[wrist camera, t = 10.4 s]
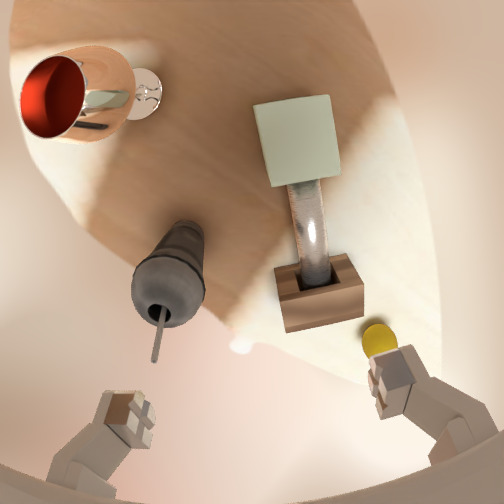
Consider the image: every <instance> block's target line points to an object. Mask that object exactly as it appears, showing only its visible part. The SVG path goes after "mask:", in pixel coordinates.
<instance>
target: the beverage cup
mask: <svg viewBox="0 0 504 504" xmlns="http://www.w3.org/2000/svg"><path fill="white" fill-rule="evenodd" d="M203 256H204V234H203V231H202V229H201V228H200V227H199V226H198V225H197V224H196V223H194V222H192V221H187V220H186V221H180V222H178V223H176V224H175V225H174V226H173V227H172V228H171V229H170V230H169V231H168V232H167V233H166V235H165V236H164V237H163V239H162V240H161V241H160V242H159V244H158V245H157V246H156V248H155V249H154V250H153V252H152V253H151V254H150V255H149V256H148V257H147V258H146V259H144V260H143V261H142V262H141V263H140V264H139V265H138V266H137V267H136V269H135V272H134V274H133V280H132V284H131V296H132V300H133V303H134V306H135V308H136V310H137V312H138V313H139V314H140V315H141V317H142V318H143V319H145V320H146V321H147V322H148V323H150V324H152V325H155V326H157V332H156V337H155V342H154V347H153V352H152V357H151V362H152V363H157V360H158V354H159V349H160V343H161V338H162V333H163V328H173V327H177V326H180V325H182V324H184V323H186V322H187V321H188V320H190V319H191V318H192V317H193V316H194V315H195V314H196V312H197V310H198V309H199V307H200V305H201V303H202V302H203V300H204V296H205V290H206V289H205V285H204V280H203V274H202V273H203Z"/></svg>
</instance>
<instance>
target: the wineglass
mask: <svg viewBox="0 0 504 504" xmlns="http://www.w3.org/2000/svg"><path fill="white" fill-rule="evenodd" d="M161 98H162V85H161V82H160V80H159V78H158V77H157V75H156V74H155V73H153V72H152V71H150V70H148V69H144V68H135V69H132V68H131V66H130V64H129V63H128V61H127V60H126V59H125V58H124V57H123V56H122V55H121V54H120V53H118V52H117V51H115V50H113V49H110V48H107V47H103V46H86V47H80V48H75V49H71V50H68V51H64V52H61V53H58V54H55V55H52V56H49V57H47V58H45V59H43V60H41V61H40V62H39V63H38V64H36V65H35V66H34V67H33V69H32V70H31V71H30V72H29V74H28V75H27V77H26V79H25V81H24V83H23V86H22V89H21V93H20V102H19V106H20V114H21V118H22V121H23V123H24V125H25V126H26V128H27V129H28V130H29V132H30V133H32V134H33V135H34V136H36V137H38V138H41V139H46V140H52V141H57V142H63V143H70V144H88V143H93V142H97V141H99V140H102V139H104V138H106V137H108V136H109V135H111V134H112V133H113V132H115V131H116V130H117V129H118V128H119V127H120V126H121V125H122V124H123V123H124V121H125V120H126V119H129V120H139V119H143V118H145V117H147V116H149V115H150V114H152V113H153V112H154V111H155V110H156V108H157V107H158V105H159V103H160V101H161Z"/></svg>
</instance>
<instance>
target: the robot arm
mask: <svg viewBox="0 0 504 504" xmlns="http://www.w3.org/2000/svg"><path fill="white" fill-rule="evenodd" d="M369 364H370V367H371V369H370V370H369V371H368V382H369V387H370V391H371V394H372V396H374V397H375V398H377V399H376V408H377V411H378V414H379V417H380V420H383V419H386V418H390V417H394V416H397V415H400V414H403V415H404V416H405V417H407V418H408V419H409V420H411V421H412V422H413V423H414V424H416V425H417V426H418V427H420V428H421V429H422V430H423V431H425V432H426V433H427V434H429V435H430V436H431V437H432V438H434V439H435V440H436V441H437V442H436V444H435V445H434V447H433V448H432V450H431V452H430V453H429V455H428V457H429V460H430V463H431V466H430V467H428V468H425V469H423V470H420V471H417V472H415V473H412V474H410V475H407V476H404V477H401V478H398V479H395V480H392V481H389V482H386V483H383V484H379V485H376V486H373V487H369V488H365V489H361V490H357V491H354V492H350V493H345V494H341V495H336V496H332V497H327V498H321V499H316V500H310V501H304V502H297V503H290V504H504V430H502V431H500V432H499V431H498V429H497V427H496V425H495V423H494V421H493V419H492V418H491V416H490V414H489V412H488V410H487V408H486V406H485V404H483V403H482V402H480V401H478V400H476V399H474V398H472V397H471V396H469V395H467V394H465V393H463V392H461V391H459V390H457V389H456V388H454V387H452V386H450V385H448V384H447V383H445V382H443V381H441V380H439V379H438V378H436V377H431V378H430V376H429V374H428V372H427V370H426V368H425V367H424V365H423V363H422V361H421V359H420V357H419V356H418V354H417V352H416V350H415V348H414V347H413V346H412V345H411V344H410V345H406V346H403V347H400V348H395V349H392V350H389V351H386V352H382V353H379V354H375V355H372V356H370V358H369ZM144 398H145V395H144V394H143V393H142V392H141V391H113V390H112V391H111V390H108V391H107V390H106V391H105V392H104V393H103V394H102V397H101V399H100V402H99V405H98V408H97V411H96V414H95V417H94V419H93V422H92V423H89V424H88V425H87V426H86V427H85V428H84V429H83V430H81V431H80V432H79V433H78V434H77V435H76V436H75V437H74V438H73V439H72V440H71V441H70V442H68V443H67V444H66V445H65V446H64V447H63V448H62V449H61V450H60V451H59V452H58V453H56V454H55V455H54V457H53V460H52V463H51V466H50V469H49V472H48V476H47V479H46V481H43V480H41V479H37V478H35V477H32V476H29V475H27V474H24V473H21V472H19V471H16V470H14V469H12V468H9V467H7V466H5V465H2V464H0V504H143V503H135V502H129V501H123V500H117V499H115V496H116V488H115V487H114V486H113V485H111V484H110V483H108V482H107V480H108V479H109V477H110V476H111V475H112V473H113V472H114V471H115V470H116V468H117V467H118V466H119V465H120V463H121V462H122V461H123V459H124V458H125V457H126V456H127V454H128V453H129V452H130V450H131V449H130V448H136V449H150V445H151V441H152V433H151V431H150V429H151V428H152V427H153V426H154V425H155V419H156V417H155V410H154V408H153V406H152V405H151V403H149V402H148V401H146V400H144Z"/></svg>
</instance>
